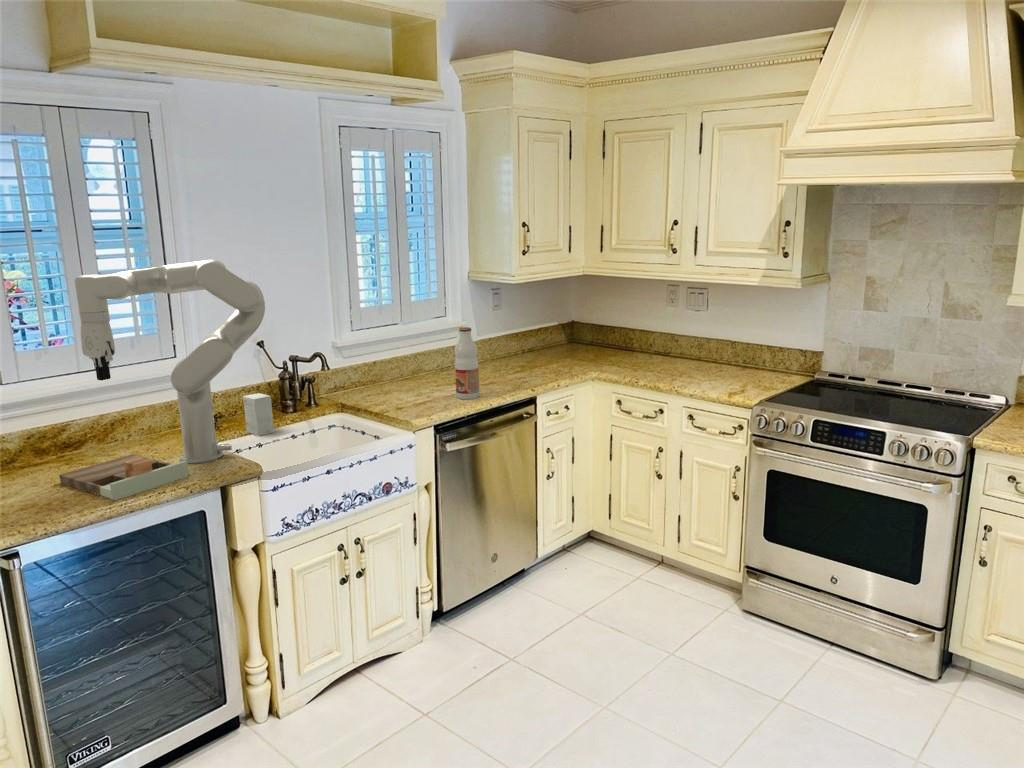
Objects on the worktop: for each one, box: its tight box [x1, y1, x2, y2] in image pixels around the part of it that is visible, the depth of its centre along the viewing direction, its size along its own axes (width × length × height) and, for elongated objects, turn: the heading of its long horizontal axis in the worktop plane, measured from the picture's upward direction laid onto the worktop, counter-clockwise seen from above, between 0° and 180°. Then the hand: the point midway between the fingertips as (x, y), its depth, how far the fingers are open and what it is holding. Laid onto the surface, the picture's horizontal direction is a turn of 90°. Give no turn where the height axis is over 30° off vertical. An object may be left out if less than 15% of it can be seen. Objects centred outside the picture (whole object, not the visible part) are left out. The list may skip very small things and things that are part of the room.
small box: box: [242, 392, 275, 437], centre depth 265 cm, size 8×6×13 cm
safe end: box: [100, 461, 190, 501], centre depth 214 cm, size 7×22×4 cm, turn 147°
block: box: [124, 456, 152, 478], centre depth 213 cm, size 5×5×5 cm
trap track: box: [59, 453, 172, 496], centre depth 222 cm, size 21×22×2 cm
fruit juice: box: [454, 326, 480, 400], centre depth 306 cm, size 9×9×28 cm
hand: (104, 379), depth 227 cm, fingers closed
